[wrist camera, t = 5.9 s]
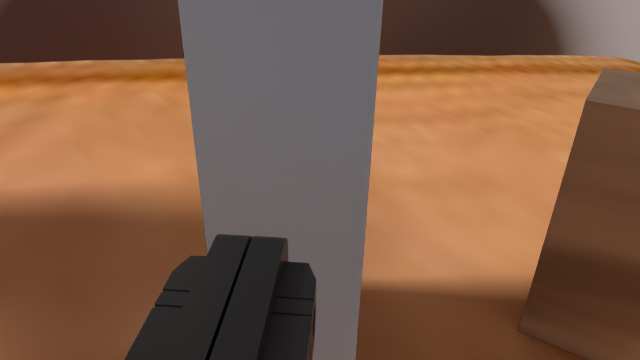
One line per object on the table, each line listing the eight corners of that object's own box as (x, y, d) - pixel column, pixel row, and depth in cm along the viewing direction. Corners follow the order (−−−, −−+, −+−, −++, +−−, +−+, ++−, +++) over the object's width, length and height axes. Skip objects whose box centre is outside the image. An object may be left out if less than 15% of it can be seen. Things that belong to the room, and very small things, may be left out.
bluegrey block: (354, 378, 17) (403, -271, 9) (220, 368, 18) (146, -270, 9) (355, 288, 22) (389, -205, 13) (248, 281, 22) (214, -206, 14)
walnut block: (658, 389, 17) (793, 136, 13) (518, 330, 20) (585, 100, 15) (662, 310, 21) (767, 91, 16) (543, 268, 23) (604, 68, 19)
